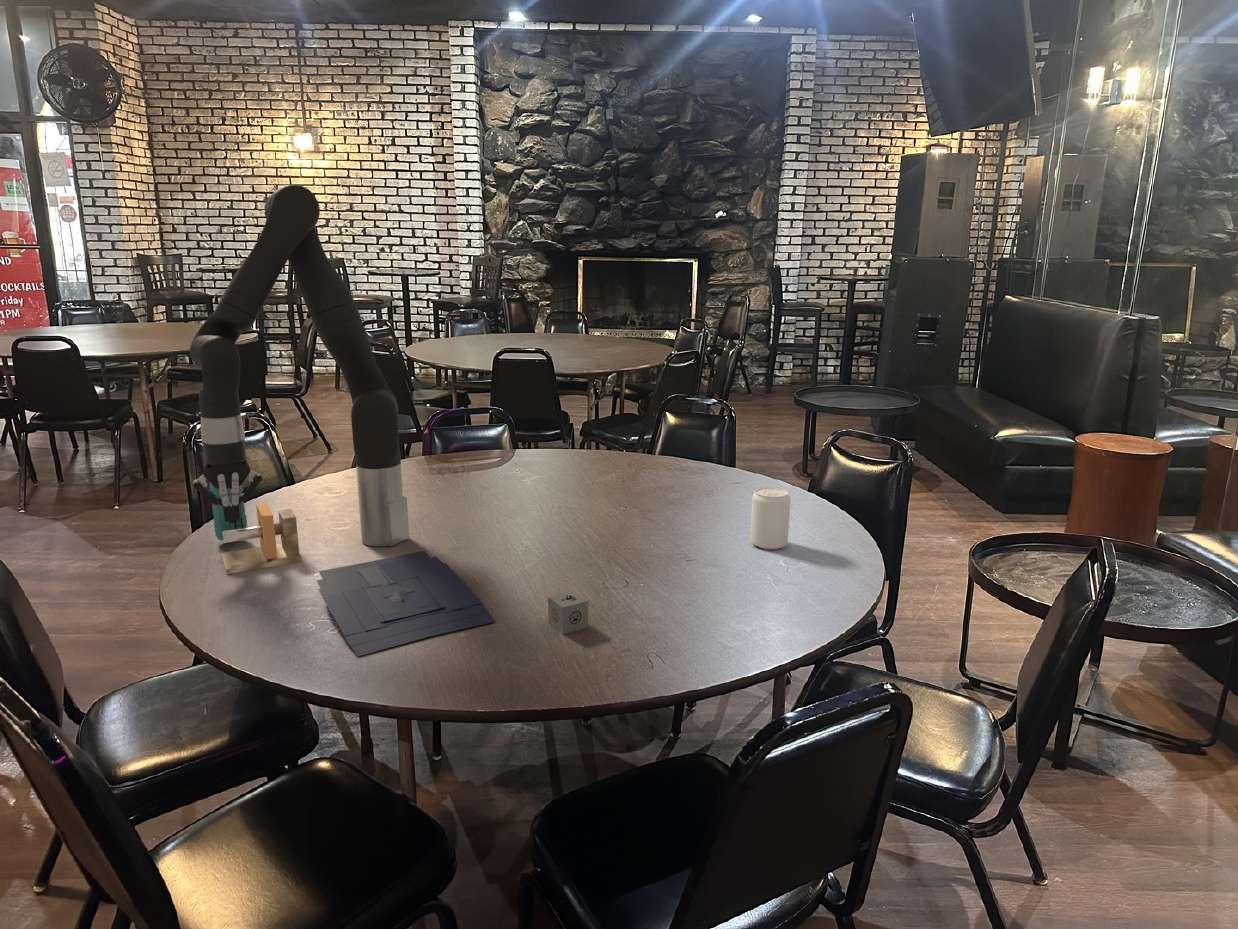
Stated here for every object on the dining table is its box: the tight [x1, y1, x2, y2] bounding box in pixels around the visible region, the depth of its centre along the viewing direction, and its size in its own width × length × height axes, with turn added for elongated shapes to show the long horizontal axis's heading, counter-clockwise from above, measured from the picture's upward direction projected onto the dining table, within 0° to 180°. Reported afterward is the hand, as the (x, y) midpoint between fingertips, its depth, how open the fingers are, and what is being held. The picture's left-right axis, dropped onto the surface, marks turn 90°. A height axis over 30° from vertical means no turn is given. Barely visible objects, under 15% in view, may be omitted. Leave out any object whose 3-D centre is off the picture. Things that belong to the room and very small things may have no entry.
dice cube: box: [547, 590, 589, 636], centre depth 143 cm, size 5×5×5 cm
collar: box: [255, 502, 277, 559], centre depth 171 cm, size 2×9×9 cm, turn 30°
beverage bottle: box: [209, 482, 248, 542], centre depth 179 cm, size 6×7×20 cm
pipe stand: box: [220, 508, 303, 575], centre depth 171 cm, size 14×10×9 cm
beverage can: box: [749, 486, 791, 550], centre depth 182 cm, size 8×8×12 cm
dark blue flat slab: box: [316, 550, 497, 657], centre depth 150 cm, size 24×30×4 cm
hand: (232, 522), depth 168 cm, fingers closed
